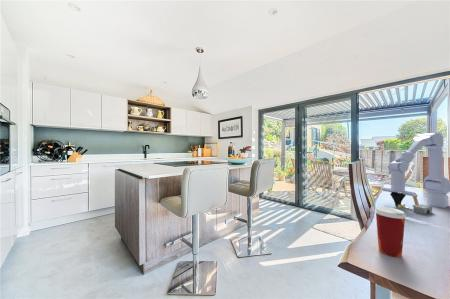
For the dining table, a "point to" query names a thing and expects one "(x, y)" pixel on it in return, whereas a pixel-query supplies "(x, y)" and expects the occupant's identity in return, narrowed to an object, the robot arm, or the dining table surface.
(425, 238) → the dining table surface
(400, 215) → the paper cup
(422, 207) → the hitch block
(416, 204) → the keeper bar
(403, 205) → the zinc pin
